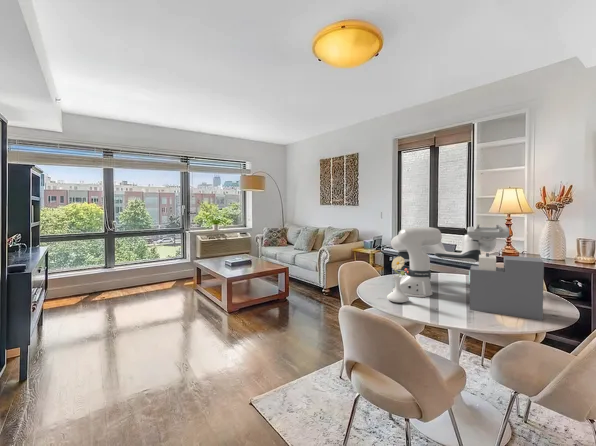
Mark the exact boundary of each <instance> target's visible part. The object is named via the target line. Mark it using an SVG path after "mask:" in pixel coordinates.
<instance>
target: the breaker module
mask: <svg viewBox="0 0 596 446" xmlns="http://www.w3.org/2000/svg"><path fill="white" fill-rule="evenodd" d="M478 266H479V270H489V271H496V267H497V255H495V254H494V255H491V254H490V252H485V254H481V255H479V260H478Z"/></svg>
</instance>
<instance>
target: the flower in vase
mask: <svg viewBox="0 0 596 446" xmlns="http://www.w3.org/2000/svg"><path fill="white" fill-rule="evenodd" d="M405 262H406V261H405V259H404V258H402V257H401V256H400V257H398V256H396V257H395V258H393V259H392V262H391V268H392V270H393V271H394V272H395V273H397V274H393V275H392V277H393V278H394V281H395V290H394V291H393V292H392V291H391V292H390V293H388V294H387V296H386V298H387V299H388V301H391V302H393V303H407V302H408V301H409V299H410V297H409V296H407V295H406V294H405V293H403V292H402V291H401V289H400V281H401V278H402V277H404V276H405V275H406V272H405V270H402V269H403V267H404V266H405ZM398 270H399V271H400V272H399V271H398Z"/></svg>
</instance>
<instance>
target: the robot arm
mask: <svg viewBox="0 0 596 446" xmlns="http://www.w3.org/2000/svg"><path fill="white" fill-rule="evenodd" d="M466 231H467V232H466V233H465V234H464V235H462V236H461V248H462V249H461V252H454V251H447V250H446V248H445V246H444V244H443V242H442V238H443V237H442V232H441V230H440V229H439V228H436V227H429V226H423V227H422V226H421V227H420V226H419V227H418V226H417V227H406V228H402V229H400V230H399V231H398V232H397V235H395V236H393V238H392V239H391V241H390V246H391V248H392V249H393V250H395V251H397V257H400V256H401V257H402V258H404V259H405V262H409V268H404V272H405V275H403V277H402V278H401V281H400V289H401V291H402V292H403V293H405V294H406V295H407V296H408V297H414V298H415V297H416V298H425V297H429V296H433V294H434V292H433V290H432V286H431V279H432V273H431V271H432V270H431V257H430V256H429V254H431V255H432V254H434V255H435V256H436V257H437V258H440V259H445V260H454V261H462V262H466V263H467V262H468V263H477V262H479V255H482V253H481V252H485V253H490V252H492V251H493V250H494V249H495V248H496V245H497V239H506V238H508V237H510V228H509V227H508V226H507V227H502V226H501V224H496V226H495V227H494V226H480V224H476V225H475V226H468V227H467V229H466ZM395 287H396V286H395ZM395 287H393V288H392V289H391V290H392V291H394V290H395ZM392 291H391V292H392Z"/></svg>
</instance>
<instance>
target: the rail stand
mask: <svg viewBox="0 0 596 446" xmlns="http://www.w3.org/2000/svg"><path fill="white" fill-rule="evenodd" d="M469 271H470V282H469V310H471V311H478V312H485V313H491V314H497V315H504V316H511V317H519V318H525V319H532V320H538V321H543V320H544V319H543V316H544V315H543V313H544V281H545V280H544V279H545V278H544V276H545V261H543V260H542V258H541V257H530V256H529V257H527V256H526V257H525V256H513V255H511V256H509V255H504V256H503V267H500V266H498V267H497V266H496V271H489V270H479V265H470V268H469Z"/></svg>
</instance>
